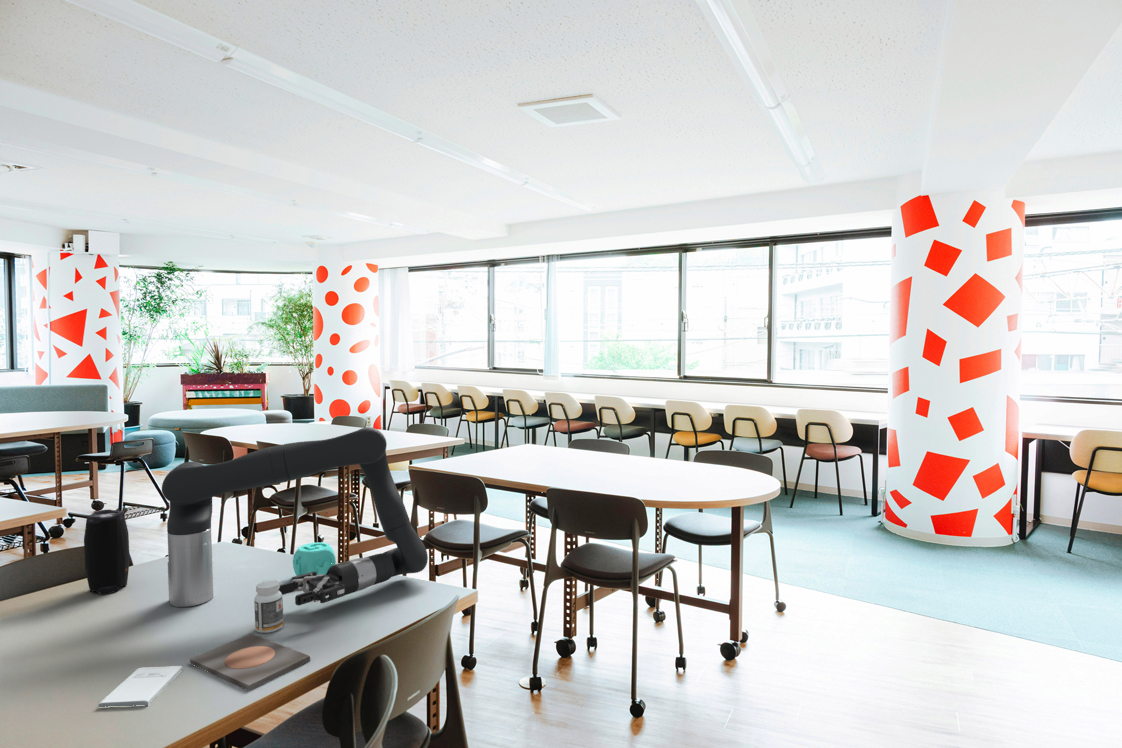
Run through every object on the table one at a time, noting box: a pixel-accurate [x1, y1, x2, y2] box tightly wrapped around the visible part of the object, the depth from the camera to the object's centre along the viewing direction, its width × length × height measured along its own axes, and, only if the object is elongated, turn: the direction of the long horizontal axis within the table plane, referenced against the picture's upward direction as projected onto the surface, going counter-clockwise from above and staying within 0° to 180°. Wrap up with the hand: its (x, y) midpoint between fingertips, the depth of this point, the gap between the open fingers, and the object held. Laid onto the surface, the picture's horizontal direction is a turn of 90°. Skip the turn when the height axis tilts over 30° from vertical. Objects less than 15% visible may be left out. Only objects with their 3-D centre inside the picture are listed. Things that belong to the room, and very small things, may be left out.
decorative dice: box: [292, 541, 337, 576], centre depth 177 cm, size 8×8×8 cm
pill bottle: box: [253, 579, 284, 634], centre depth 146 cm, size 6×6×10 cm
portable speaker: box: [83, 509, 131, 596], centre depth 168 cm, size 9×9×20 cm
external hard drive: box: [97, 665, 183, 707], centre depth 121 cm, size 2×8×12 cm
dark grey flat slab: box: [189, 633, 311, 691], centre depth 131 cm, size 19×13×1 cm
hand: (286, 595), depth 149 cm, fingers open, 8 cm apart
